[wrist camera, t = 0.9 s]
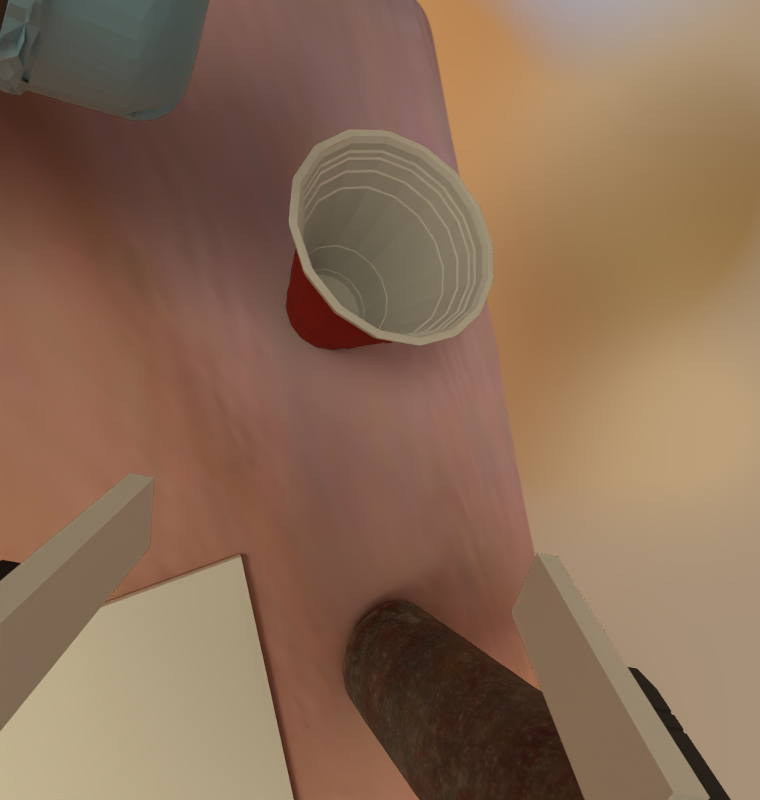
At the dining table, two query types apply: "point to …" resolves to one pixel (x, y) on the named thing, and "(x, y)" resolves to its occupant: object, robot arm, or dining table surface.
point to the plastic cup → (384, 244)
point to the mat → (154, 703)
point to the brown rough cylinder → (453, 712)
